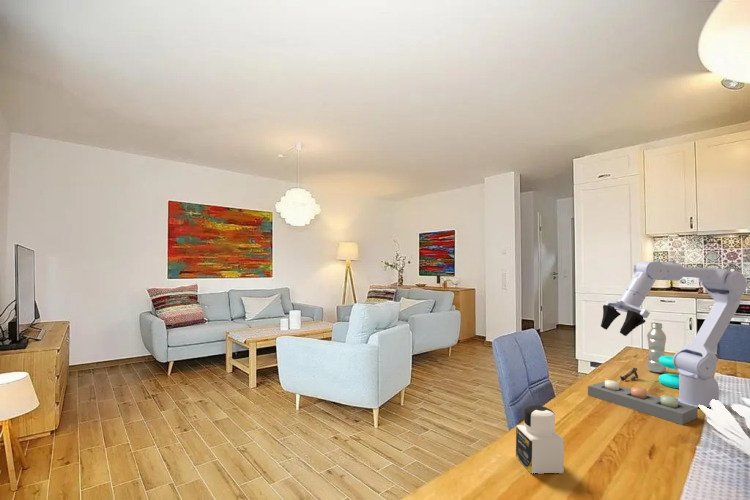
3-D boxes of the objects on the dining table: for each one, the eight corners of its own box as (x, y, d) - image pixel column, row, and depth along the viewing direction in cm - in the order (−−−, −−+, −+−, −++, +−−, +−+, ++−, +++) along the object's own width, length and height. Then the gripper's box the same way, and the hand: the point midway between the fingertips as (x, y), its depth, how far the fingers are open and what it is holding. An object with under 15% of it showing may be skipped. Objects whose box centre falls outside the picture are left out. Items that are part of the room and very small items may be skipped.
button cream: (621, 390, 124) (621, 382, 125) (615, 392, 122) (615, 384, 122) (608, 387, 128) (608, 379, 128) (602, 389, 126) (602, 381, 126)
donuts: (687, 356, 142) (698, 363, 133) (687, 383, 142) (698, 392, 133) (655, 353, 146) (663, 359, 137) (654, 379, 146) (663, 387, 137)
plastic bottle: (662, 370, 159) (662, 322, 159) (669, 375, 152) (669, 325, 153) (644, 369, 161) (644, 321, 161) (649, 373, 154) (650, 323, 155)
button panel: (697, 417, 110) (697, 407, 110) (682, 424, 105) (682, 413, 105) (604, 390, 132) (604, 381, 132) (587, 394, 127) (587, 385, 127)
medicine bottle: (515, 456, 85) (516, 402, 85) (545, 456, 86) (546, 402, 86) (530, 474, 78) (531, 415, 78) (564, 474, 79) (565, 415, 79)
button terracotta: (649, 398, 118) (649, 390, 118) (642, 401, 116) (642, 392, 116) (634, 394, 121) (634, 386, 121) (628, 396, 119) (628, 388, 119)
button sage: (680, 407, 111) (680, 398, 111) (674, 410, 109) (674, 401, 109) (664, 403, 114) (664, 394, 114) (657, 405, 112) (658, 396, 112)
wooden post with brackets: (641, 377, 146) (638, 367, 145) (627, 387, 143) (624, 377, 143) (637, 376, 147) (633, 365, 147) (623, 386, 145) (619, 375, 144)
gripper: (607, 284, 127) (586, 319, 126) (646, 291, 113) (622, 330, 112) (622, 295, 128) (601, 329, 128) (662, 304, 114) (639, 342, 113)
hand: (612, 331), depth 120 cm, fingers open, 7 cm apart
